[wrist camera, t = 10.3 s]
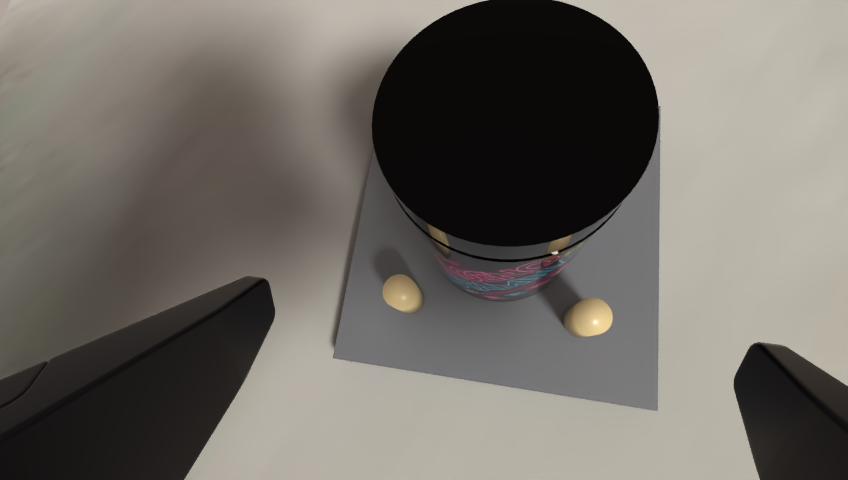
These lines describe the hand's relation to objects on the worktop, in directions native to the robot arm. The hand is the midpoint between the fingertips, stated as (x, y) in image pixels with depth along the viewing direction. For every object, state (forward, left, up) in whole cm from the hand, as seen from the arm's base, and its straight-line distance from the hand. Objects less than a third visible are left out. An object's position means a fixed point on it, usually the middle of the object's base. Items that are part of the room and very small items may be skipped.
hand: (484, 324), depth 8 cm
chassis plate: (+4, +3, -12) cm, 13 cm away
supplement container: (+4, +3, -11) cm, 12 cm away
